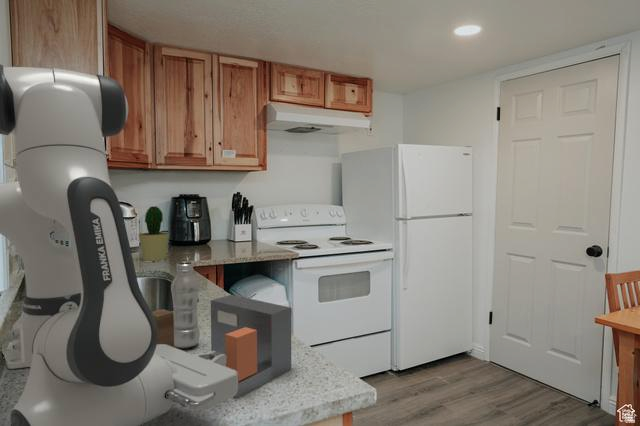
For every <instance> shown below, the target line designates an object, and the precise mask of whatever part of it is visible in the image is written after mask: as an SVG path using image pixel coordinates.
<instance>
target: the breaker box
mask: <svg viewBox="0 0 640 426" xmlns="http://www.w3.org/2000/svg"><path fill="white" fill-rule="evenodd" d="M245 327H247V328H251V329H254V330H257V373H255V374H253V375H251V376H248V377H246V378H244V379H242V380H240V381H238V391H237V394H236V395H235V396H234V397H233V398H235V399H240V398H241V397H243V396H245V395H247V394H249V393H251V392H252V391H254V390H256V389H258V388H260V387H262V386H263V385H265V384H267V383H269V382H272V381H273V380H275V379H277V378H278V377H280V376H282V375H284V374H285V373H288V372H289V371H291V370H292V307H291V306H290V307H289V306H286V305H281V304H277V303H271V302H266V301H262V300H258V299H253V298H248V297H243V296H238V295H234V294H231V295H230V294H229V295H225V296H221V297H219V298H214V299H211V300H210V338H211V339H210V342H211V343H210V348H211V349H210V352H212V351H216V352H219V353H222V354H225V355H226V350H225V334H228V333H231V332H233V331H236V330H239V329H242V328H245Z"/></svg>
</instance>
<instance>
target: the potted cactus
mask: <svg viewBox="0 0 640 426" xmlns="http://www.w3.org/2000/svg"><path fill="white" fill-rule="evenodd" d="M163 222H164V214H163V211H162V210H161V208H160V207H158V206H150V207H148V208H147V210H146V211H145V215H144V223H145V225H146V231H147V232H141V233H138V239H139V243H140V249H141V256H142V261H161V260H165V259H166V260H167V254H168V248H169V247H168V245H169V238H170V232H163V231H161V227H162V226H161V225H162V223H163ZM166 260H165V261H166Z"/></svg>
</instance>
